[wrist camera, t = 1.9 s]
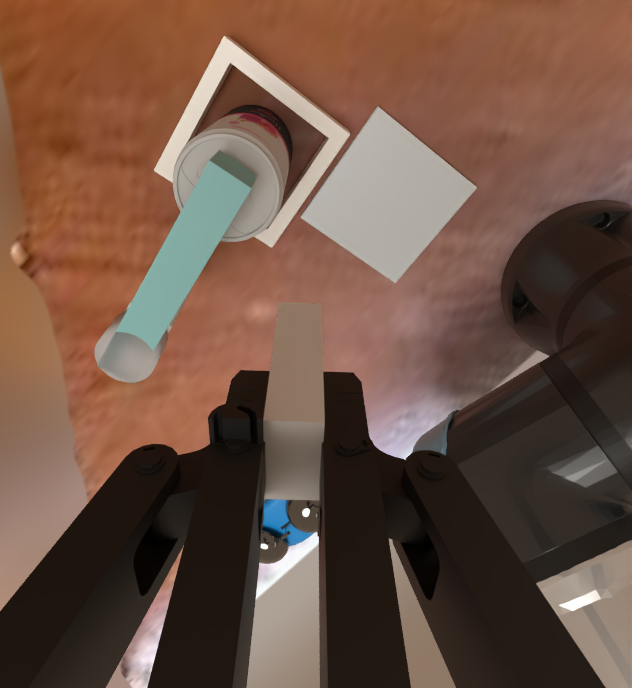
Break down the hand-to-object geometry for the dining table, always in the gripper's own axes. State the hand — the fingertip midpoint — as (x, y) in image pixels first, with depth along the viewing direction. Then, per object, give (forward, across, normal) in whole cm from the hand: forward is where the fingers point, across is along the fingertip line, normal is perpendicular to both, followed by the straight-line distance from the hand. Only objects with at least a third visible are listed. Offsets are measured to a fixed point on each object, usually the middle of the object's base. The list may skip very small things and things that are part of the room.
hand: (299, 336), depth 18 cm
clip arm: (+13, +8, +3) cm, 15 cm away
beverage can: (+29, +5, -2) cm, 29 cm away
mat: (+29, -7, +2) cm, 30 cm away
